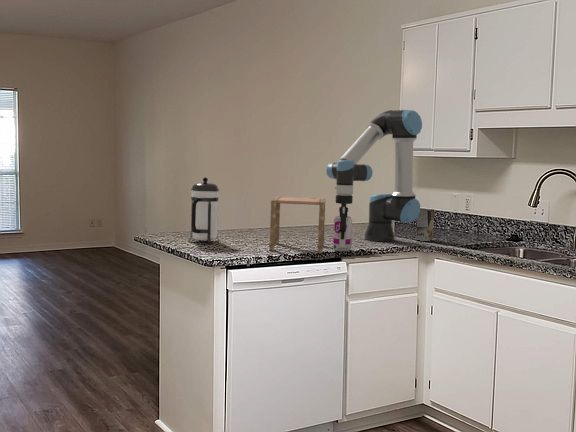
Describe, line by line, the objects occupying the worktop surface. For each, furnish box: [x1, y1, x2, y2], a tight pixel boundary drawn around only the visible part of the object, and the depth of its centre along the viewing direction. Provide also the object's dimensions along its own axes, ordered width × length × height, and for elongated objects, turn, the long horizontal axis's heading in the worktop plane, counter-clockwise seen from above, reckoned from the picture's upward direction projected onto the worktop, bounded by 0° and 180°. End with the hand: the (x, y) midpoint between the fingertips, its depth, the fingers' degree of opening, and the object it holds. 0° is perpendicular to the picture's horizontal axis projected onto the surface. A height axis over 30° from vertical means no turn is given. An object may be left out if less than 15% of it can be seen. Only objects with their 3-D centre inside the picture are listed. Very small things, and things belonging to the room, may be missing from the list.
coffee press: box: [187, 176, 220, 245], centre depth 318 cm, size 17×16×30 cm
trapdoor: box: [277, 196, 320, 206], centre depth 310 cm, size 18×18×2 cm
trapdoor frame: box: [269, 196, 326, 254], centre depth 311 cm, size 23×23×22 cm
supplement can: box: [332, 215, 353, 252], centre depth 309 cm, size 8×8×15 cm
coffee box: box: [415, 208, 435, 242], centre depth 351 cm, size 9×6×16 cm
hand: (342, 244), depth 310 cm, fingers closed on supplement can, 8 cm apart
